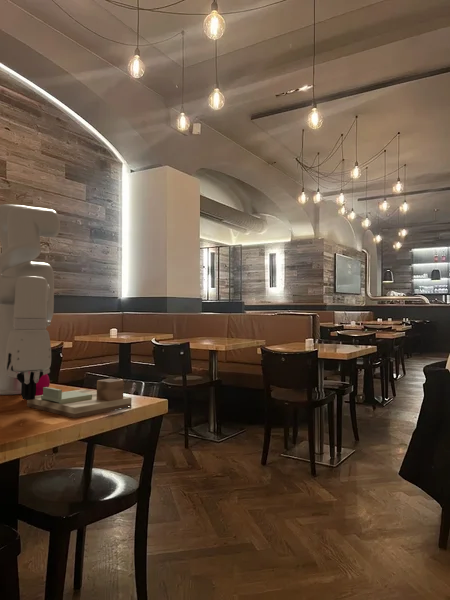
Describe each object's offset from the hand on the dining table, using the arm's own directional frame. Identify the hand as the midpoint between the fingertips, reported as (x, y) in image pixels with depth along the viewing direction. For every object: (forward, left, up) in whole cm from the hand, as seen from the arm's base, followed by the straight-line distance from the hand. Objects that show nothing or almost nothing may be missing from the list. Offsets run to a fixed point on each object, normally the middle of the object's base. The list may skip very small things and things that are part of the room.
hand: (28, 399), depth 113 cm
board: (0, +15, -4) cm, 15 cm away
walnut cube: (+8, +19, -2) cm, 20 cm away
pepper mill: (-20, +14, -4) cm, 25 cm away
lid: (0, +11, -2) cm, 11 cm away
